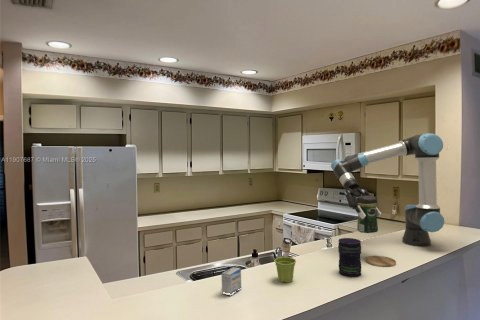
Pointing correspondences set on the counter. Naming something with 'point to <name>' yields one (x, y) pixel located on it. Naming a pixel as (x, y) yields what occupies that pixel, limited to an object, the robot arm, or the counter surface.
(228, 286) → the medicine box
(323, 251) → the counter surface
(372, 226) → the coffee jar
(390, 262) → the plate
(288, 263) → the plant pot
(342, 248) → the storage jar
